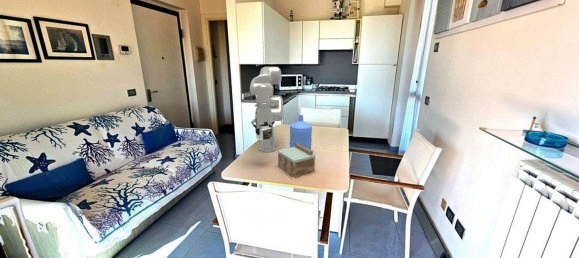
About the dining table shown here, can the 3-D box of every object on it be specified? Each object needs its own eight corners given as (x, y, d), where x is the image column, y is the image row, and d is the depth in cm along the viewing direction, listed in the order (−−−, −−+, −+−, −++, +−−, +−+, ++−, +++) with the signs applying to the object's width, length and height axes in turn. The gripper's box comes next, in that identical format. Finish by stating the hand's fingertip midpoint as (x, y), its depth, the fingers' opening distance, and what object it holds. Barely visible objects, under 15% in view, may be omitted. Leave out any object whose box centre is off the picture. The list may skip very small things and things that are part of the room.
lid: (277, 152, 149) (277, 146, 147) (297, 148, 156) (297, 142, 155) (294, 163, 134) (294, 156, 133) (315, 157, 142) (315, 151, 141)
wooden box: (278, 166, 151) (278, 153, 149) (297, 161, 159) (297, 148, 156) (294, 177, 137) (294, 163, 134) (314, 171, 144) (315, 157, 142)
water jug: (309, 157, 164) (311, 118, 156) (287, 156, 167) (287, 117, 159) (312, 149, 179) (313, 113, 171) (291, 148, 182) (292, 112, 174)
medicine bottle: (263, 141, 144) (262, 122, 140) (256, 138, 148) (255, 119, 145) (272, 138, 148) (271, 120, 145) (264, 136, 153) (264, 118, 150)
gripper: (252, 108, 135) (253, 137, 140) (278, 105, 144) (279, 132, 149) (247, 105, 141) (248, 134, 146) (272, 103, 150) (273, 129, 155)
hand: (263, 133), depth 147 cm, fingers closed on medicine bottle, 8 cm apart
